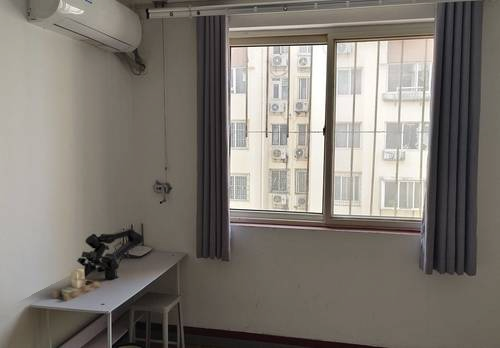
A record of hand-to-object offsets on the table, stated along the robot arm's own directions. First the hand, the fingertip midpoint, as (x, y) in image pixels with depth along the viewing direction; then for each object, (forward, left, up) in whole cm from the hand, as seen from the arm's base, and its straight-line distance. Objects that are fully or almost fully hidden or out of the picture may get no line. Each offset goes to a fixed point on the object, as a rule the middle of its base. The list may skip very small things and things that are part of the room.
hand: (83, 276), depth 241 cm
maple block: (+4, 0, -4) cm, 6 cm away
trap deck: (+5, 0, -7) cm, 9 cm away
